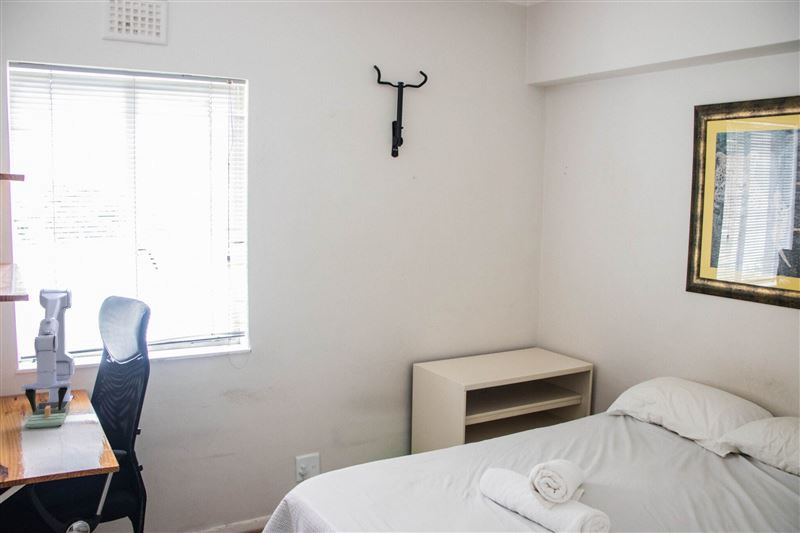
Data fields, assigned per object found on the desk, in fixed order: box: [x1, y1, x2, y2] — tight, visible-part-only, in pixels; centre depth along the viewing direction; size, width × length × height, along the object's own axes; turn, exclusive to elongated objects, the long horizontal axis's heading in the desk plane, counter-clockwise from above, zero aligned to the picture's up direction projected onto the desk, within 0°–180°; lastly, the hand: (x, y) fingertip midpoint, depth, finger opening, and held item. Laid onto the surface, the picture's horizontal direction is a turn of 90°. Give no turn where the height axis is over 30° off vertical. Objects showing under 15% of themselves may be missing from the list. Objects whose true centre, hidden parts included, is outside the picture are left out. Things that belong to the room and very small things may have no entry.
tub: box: [32, 401, 71, 417], centre depth 229 cm, size 10×10×3 cm
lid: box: [25, 406, 67, 429], centre depth 219 cm, size 10×10×5 cm
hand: (47, 410), depth 220 cm, fingers open, 7 cm apart
